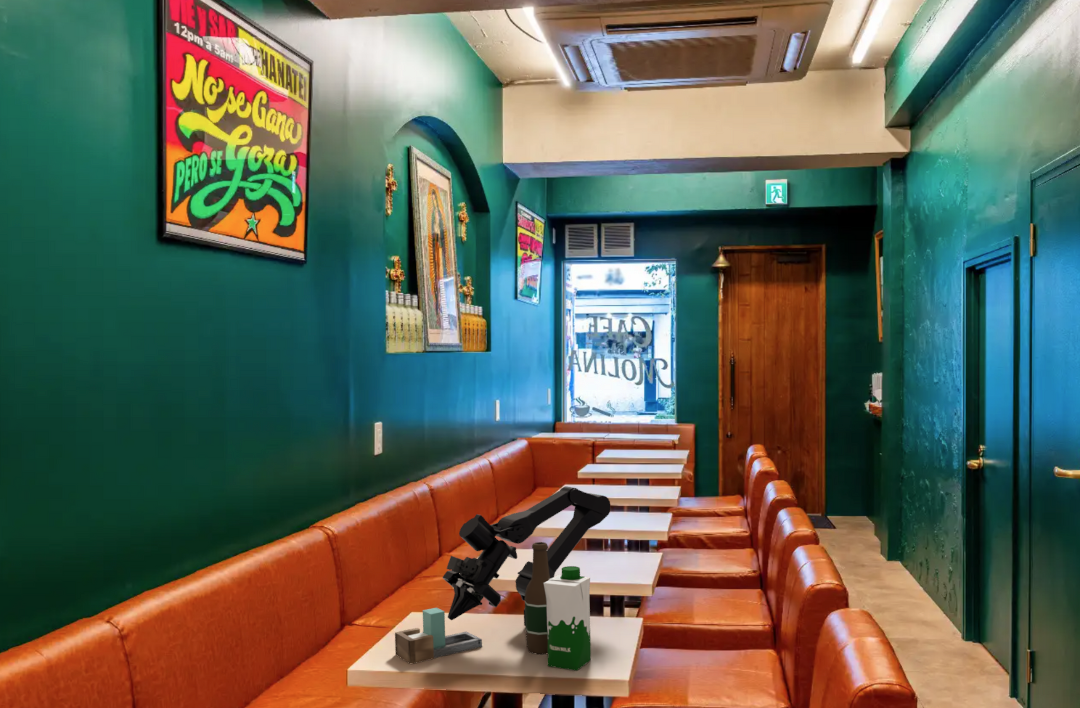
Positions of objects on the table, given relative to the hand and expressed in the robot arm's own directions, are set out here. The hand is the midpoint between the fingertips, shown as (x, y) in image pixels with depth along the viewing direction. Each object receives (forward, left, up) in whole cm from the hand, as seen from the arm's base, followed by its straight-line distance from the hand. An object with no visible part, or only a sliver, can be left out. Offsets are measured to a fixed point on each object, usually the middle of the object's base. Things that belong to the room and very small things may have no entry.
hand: (449, 618), depth 201 cm
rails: (-1, 0, -7) cm, 7 cm away
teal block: (+5, +4, -6) cm, 9 cm away
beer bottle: (-21, -1, -7) cm, 22 cm away
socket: (+7, +6, -7) cm, 11 cm away
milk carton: (-28, +8, -7) cm, 30 cm away
